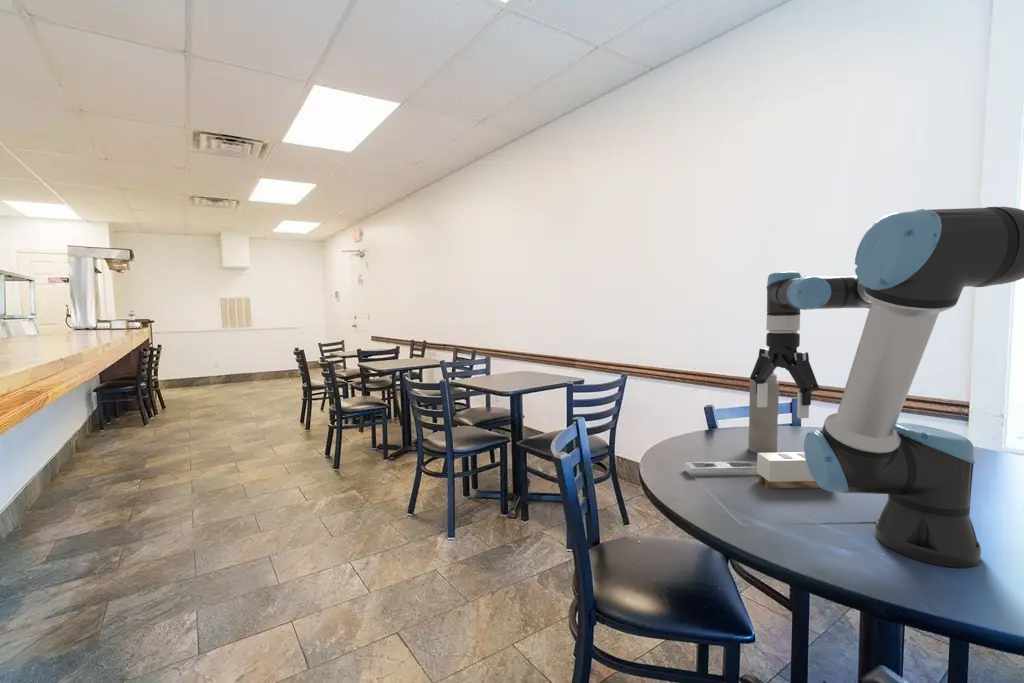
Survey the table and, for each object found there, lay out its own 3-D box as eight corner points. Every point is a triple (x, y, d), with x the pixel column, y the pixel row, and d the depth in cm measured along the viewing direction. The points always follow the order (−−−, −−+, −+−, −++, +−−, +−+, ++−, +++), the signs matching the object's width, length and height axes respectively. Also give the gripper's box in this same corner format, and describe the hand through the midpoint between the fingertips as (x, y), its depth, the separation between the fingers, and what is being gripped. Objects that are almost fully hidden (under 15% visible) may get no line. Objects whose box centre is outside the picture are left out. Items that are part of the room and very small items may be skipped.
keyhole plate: (764, 475, 124) (765, 467, 124) (691, 476, 124) (691, 468, 124) (755, 469, 129) (756, 461, 129) (684, 470, 129) (684, 462, 129)
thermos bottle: (768, 446, 148) (770, 361, 145) (782, 454, 140) (785, 365, 137) (743, 446, 148) (745, 362, 146) (756, 455, 140) (758, 365, 138)
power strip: (817, 479, 120) (819, 450, 119) (833, 488, 114) (834, 458, 113) (756, 479, 120) (757, 451, 120) (769, 489, 114) (769, 459, 114)
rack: (820, 481, 119) (820, 473, 119) (830, 488, 115) (831, 479, 115) (758, 482, 120) (758, 473, 119) (767, 489, 115) (767, 480, 115)
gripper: (838, 333, 107) (835, 422, 108) (759, 329, 131) (758, 402, 133) (811, 334, 106) (809, 424, 107) (737, 330, 130) (736, 403, 131)
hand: (781, 412), depth 120 cm, fingers open, 13 cm apart
